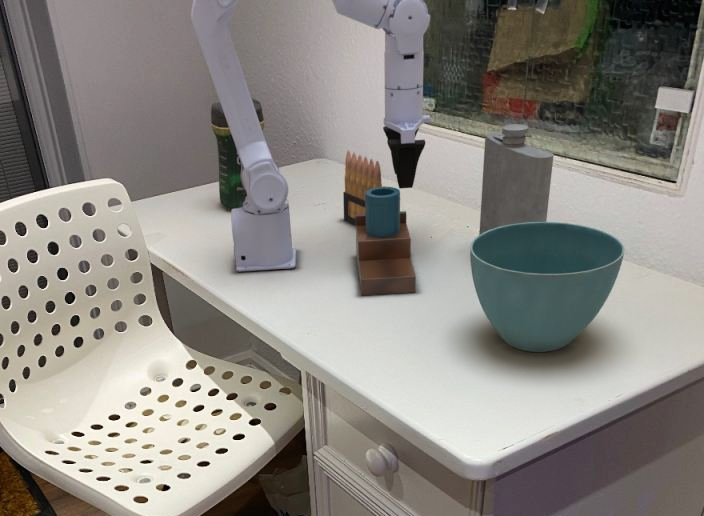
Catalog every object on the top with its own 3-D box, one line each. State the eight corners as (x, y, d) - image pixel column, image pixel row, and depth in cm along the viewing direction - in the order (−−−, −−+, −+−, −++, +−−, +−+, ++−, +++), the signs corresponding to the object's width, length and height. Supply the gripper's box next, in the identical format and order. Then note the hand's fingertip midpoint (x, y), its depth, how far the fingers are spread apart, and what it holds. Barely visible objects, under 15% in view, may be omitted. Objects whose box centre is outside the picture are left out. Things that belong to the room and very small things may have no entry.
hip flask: (544, 279, 122) (560, 135, 110) (520, 283, 121) (533, 140, 109) (492, 245, 134) (501, 112, 122) (470, 249, 133) (477, 116, 121)
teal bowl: (439, 327, 111) (442, 238, 103) (550, 298, 116) (561, 211, 109) (517, 384, 98) (527, 286, 90) (639, 349, 103) (658, 253, 95)
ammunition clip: (385, 233, 141) (385, 160, 134) (376, 236, 140) (375, 162, 133) (352, 218, 149) (349, 148, 141) (343, 220, 148) (340, 150, 141)
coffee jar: (231, 214, 154) (217, 107, 143) (216, 204, 160) (202, 100, 148) (277, 205, 157) (268, 99, 146) (261, 194, 163) (251, 92, 152)
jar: (367, 238, 124) (366, 198, 120) (365, 227, 128) (364, 187, 125) (401, 236, 124) (401, 196, 120) (398, 225, 128) (398, 185, 124)
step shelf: (361, 295, 121) (360, 249, 117) (356, 257, 133) (355, 214, 129) (415, 292, 121) (416, 245, 116) (405, 254, 133) (405, 211, 129)
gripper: (436, 94, 116) (434, 192, 124) (425, 75, 127) (423, 166, 136) (387, 97, 116) (387, 195, 124) (380, 78, 128) (381, 168, 136)
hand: (403, 180), depth 130 cm, fingers open, 7 cm apart
